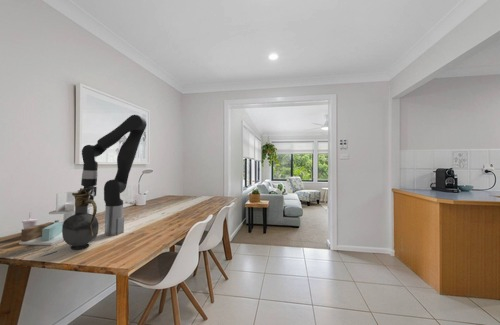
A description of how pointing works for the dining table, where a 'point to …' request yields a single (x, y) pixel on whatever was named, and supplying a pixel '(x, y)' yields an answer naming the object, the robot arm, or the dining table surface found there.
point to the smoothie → (29, 222)
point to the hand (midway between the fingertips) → (87, 204)
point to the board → (44, 241)
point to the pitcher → (81, 223)
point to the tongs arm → (52, 230)
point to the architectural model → (66, 205)
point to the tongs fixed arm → (33, 231)
